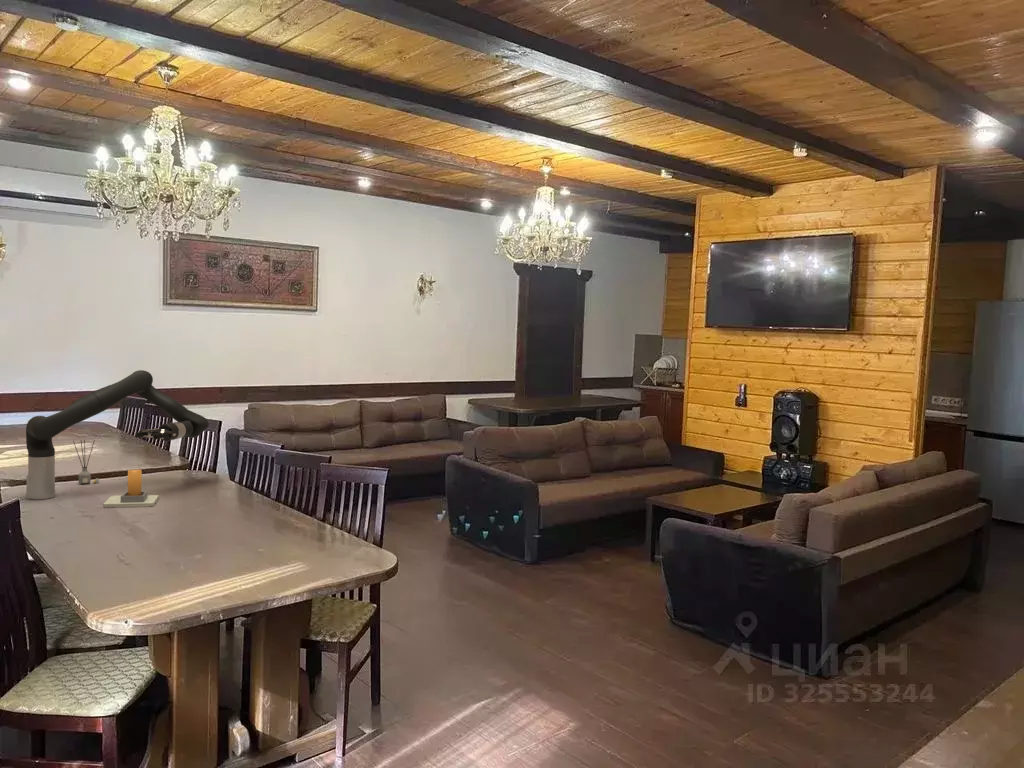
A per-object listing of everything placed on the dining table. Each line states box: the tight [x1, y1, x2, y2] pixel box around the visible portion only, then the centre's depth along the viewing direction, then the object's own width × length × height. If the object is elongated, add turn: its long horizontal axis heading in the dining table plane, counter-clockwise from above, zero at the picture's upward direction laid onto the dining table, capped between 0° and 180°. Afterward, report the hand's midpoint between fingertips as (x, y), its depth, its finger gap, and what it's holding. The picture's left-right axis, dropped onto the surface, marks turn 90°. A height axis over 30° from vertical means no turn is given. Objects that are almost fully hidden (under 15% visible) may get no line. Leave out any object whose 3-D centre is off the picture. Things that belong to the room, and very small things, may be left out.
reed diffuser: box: [72, 439, 100, 484], centre depth 334 cm, size 10×7×20 cm
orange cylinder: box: [127, 469, 143, 496], centre depth 303 cm, size 5×5×12 cm
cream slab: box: [102, 490, 160, 509], centre depth 304 cm, size 18×14×4 cm
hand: (145, 436), depth 312 cm, fingers open, 8 cm apart
